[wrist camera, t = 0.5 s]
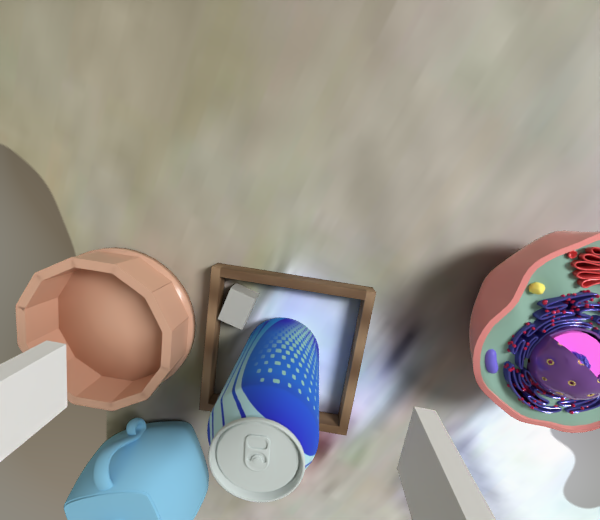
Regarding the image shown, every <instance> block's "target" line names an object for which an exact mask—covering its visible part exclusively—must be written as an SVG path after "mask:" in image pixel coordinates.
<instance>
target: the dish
mask: <svg viewBox="0 0 600 520" xmlns="http://www.w3.org/2000/svg"><path fill="white" fill-rule="evenodd" d="M16 323H17V342H18V346H19V347H20V349H21V351H22V353H23V352H25V351H27V350H29V349H31V348H33V347H35V346H37V345H39V344H41V343H43V342H45V341H46V340H47V341H53V342H58V343H64V344H66V362H67V400H68V401H70V402H71V403H72V404H75V405H81V406H87V407H92V408H98V409H103V410H109V411H114V410H117V409H120V408H123V407H126V406H129V405H132V404H135V403H138V402H141V401H144V400H147V399H148V398H149V397H150V396H151V395H152V394H153V392H154V391H155V390H156V389H157V388H158V387H159V386H160V384H161V383H162V382H163V381H165V380H167V379H168V378H169V377H170V376H172V375H173V374H174V373H175V372H176V371H177V370H178V369H179V368H180V366H181V365H182V364H183V363H184V361H185V360H186V358H187V357H188V355H189V353H190V351H191V349H192V345H193V342H194V337H195V316H194V311H193V307H192V303H191V301H190V299H189V296H188V294H187V292H186V290H185V289H184V287H183V285H182V284H181V283H180V281H179V280H178V279H177V277H176V276H175V275H174V274H173V273H172V272H171V271H170V270H169V269H168V268H166V267H165V266H164V265H163V264H162V263H160V262H159V261H157V260H156V259H154V258H152V257H150V256H148V255H146V254H144V253H141V252H138V251H135V250H131V249H126V248H116V247H115V248H103V249H98V250H93V251H89V252H86V253H83V254H81V255H79V256H75V257H71V258H69V259H66V260H64V261H62V262H59V263H57V264H55V265H52V266H50V267H48V268H45V269H43V270H40V271H38V272H36V273H34V275H33V277H32V278H31V280H30V282H29V284H28V285H27V287H26V289H25V290H24V292H23V294H22V295H21V297H20V299H19V301H18V302H17V304H16Z"/></svg>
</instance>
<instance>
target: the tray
mask: <svg viewBox="0 0 600 520" xmlns="http://www.w3.org/2000/svg"><path fill="white" fill-rule="evenodd" d="M225 278H230V279H236V280H242V281H249V282H255V283H261V284H267V285H274V286H280V287H286V288H292V289H299V290H305V291H311V292H317V293H324V294H330V295H336V296H342V297H349V298H355V299H361V303H360V308H359V313H358V318H357V323H356V328H355V333H354V338H353V343H352V348H351V353H350V358H349V363H348V368H347V373H346V378H345V383H344V388H343V393H342V398H341V403H340V408H339V413H338V415H337V414H331V413H325V412H319V431H324V432H329V433H335V434H341V435H346V434H347V429H348V424H349V420H350V415H351V410H352V405H353V401H354V396H355V391H356V386H357V381H358V377H359V372H360V367H361V362H362V358H363V353H364V348H365V343H366V338H367V334H368V329H369V324H370V319H371V314H372V310H373V305H374V300H375V295H376V292H375V290H374V289H373V287H366V286H360V285H354V284H348V283H341V282H335V281H329V280H322V279H316V278H310V277H303V276H297V275H291V274H284V273H278V272H272V271H266V270H259V269H253V268H247V267H240V266H234V265H228V264H221V263H217V264H215V265H213V266H212V267H211V279H210V290H209V302H208V313H207V325H206V336H205V347H204V359H203V370H202V382H201V393H200V405H199V410H204V411H210V412H212V410H213V408H214V406H215V404H216V402H217V400H218V398H219V396H220V394H216V393H214V385H215V375H216V364H217V354H218V344H219V334H220V323H221V320H219V319H218V317H219V315H220V312H221V310H222V303H223V293H224V282H225Z"/></svg>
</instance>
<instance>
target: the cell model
mask: <svg viewBox="0 0 600 520" xmlns="http://www.w3.org/2000/svg"><path fill="white" fill-rule="evenodd" d="M469 342H470V352H471V359H472V365H473V371H474V375H475V379H476V382H477V384H478V385H479V387H480V388H481V390H482V391H483V392H484V393H485V394H486V395H487V396H488V397H489V398H490V399H491V400H492V401H493V402H494V403H495V404H497V405H498V406H499V407H500V408H501V409H503V410H504V411H505V412H506V413H508V414H509V415H510V416H512V417H513V418H515V419H517V420H519V421H521V422H525V423H529V424H534V425H540V426H545V427H549V428H552V429H556V430H559V431H562V432H570V433H577V432H587V431H592V430H596V429H598V428H600V232H579V231H556V232H552V233H549V234H547V235H545V236H542V237H540V238H538V239H536V240H534V241H533V242H531V243H530V244H528V245H527V246H525V247H523V248H522V249H521V250H519V251H518V252H516V253H515V254H513V255H512V256H510V257H509V258H507V259H506V260H504V261H503V262H502V263H500V264H499V265H498V266H496V267H495V268H494V269H493V270H492V271H491V272H490V273H489V274H488V275H487V276H486V277H485V279H484V281H483V283H482V285H481V287H480V290H479V293H478V295H477V298H476V301H475V303H474V306H473V309H472V313H471V318H470V326H469Z"/></svg>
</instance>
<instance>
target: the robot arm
mask: <svg viewBox="0 0 600 520" xmlns="http://www.w3.org/2000/svg"><path fill="white" fill-rule="evenodd" d="M66 407H67V362H66V344H64V343H58V342H53V341H47V340H46V341H45V342H43V343H41V344H39V345H37V346H35V347H33V348H31V349H29V350H27V351H25V352H23V353H21V354H19V355H17V356H16V357H14V358H12V359H10V360H8V361H6V362H4V363H2V364H0V462H1V461H2V460H3V459H4V458H6V457H7V456H8V455H9V454H10V453H12V452H13V451H14V450H15V449H17V448H18V447H19V446H20V445H21V444H23V443H24V442H25V441H26V440H28V439H29V438H30V437H31V436H32V435H34V434H35V433H36V432H37V431H39V430H40V429H41V428H42V427H43V426H45V425H46V424H47V423H48V422H49V421H51V420H52V419H53V418H54V417H55V416H57V415H58V414H59V413H60V412H61V411H63V410H64V409H65V408H66ZM397 470H398V473H399V477H400V480H401V483H402V487H403V490H404V494H405V497H406V501H407V504H408V507H409V511H410V514H411V518H412V520H496V519H495V517H494V515H493V514H492V512H491V510H490V508H489V506H488V504H487V503H486V501H485V499H484V497H483V495H482V494H481V492H480V490H479V488H478V486H477V485H476V483H475V481H474V479H473V477H472V476H471V474H470V472H469V470H468V468H467V467H466V465H465V463H464V461H463V459H462V458H461V456H460V454H459V452H458V450H457V448H456V447H455V445H454V443H453V441H452V439H451V438H450V436H449V434H448V432H447V430H446V429H445V427H444V425H443V423H442V421H441V420H440V418H439V416H438V414H437V412H436V411H435V410H431V409H426V408H420V407H414V409H413V413H412V416H411V420H410V423H409V427H408V431H407V434H406V438H405V441H404V445H403V449H402V452H401V456H400V459H399V463H398V467H397Z"/></svg>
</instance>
